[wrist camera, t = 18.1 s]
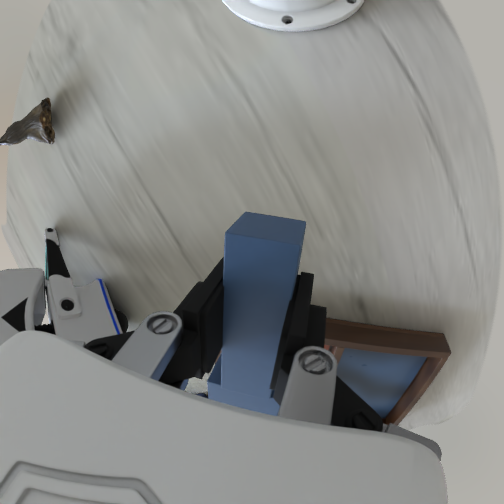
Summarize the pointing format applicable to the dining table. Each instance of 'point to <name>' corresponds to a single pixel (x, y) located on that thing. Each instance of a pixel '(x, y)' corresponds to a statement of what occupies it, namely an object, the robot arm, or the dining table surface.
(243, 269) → the blue tall stepped post
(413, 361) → the cutlery tray
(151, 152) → the dining table surface
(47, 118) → the shark head
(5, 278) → the robotic device
